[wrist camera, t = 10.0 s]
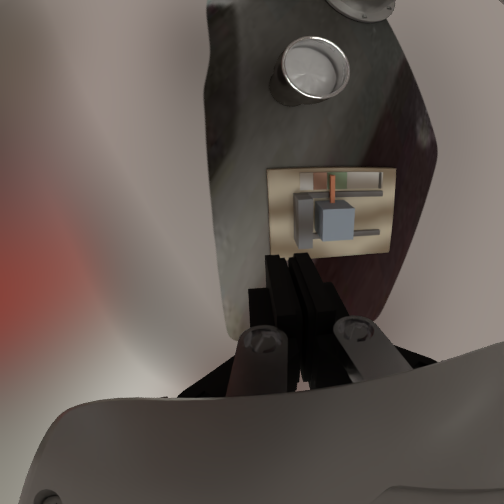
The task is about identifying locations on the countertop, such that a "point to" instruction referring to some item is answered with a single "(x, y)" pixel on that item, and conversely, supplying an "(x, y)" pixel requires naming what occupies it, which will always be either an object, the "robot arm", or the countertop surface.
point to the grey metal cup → (309, 72)
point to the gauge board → (318, 189)
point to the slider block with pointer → (334, 217)
